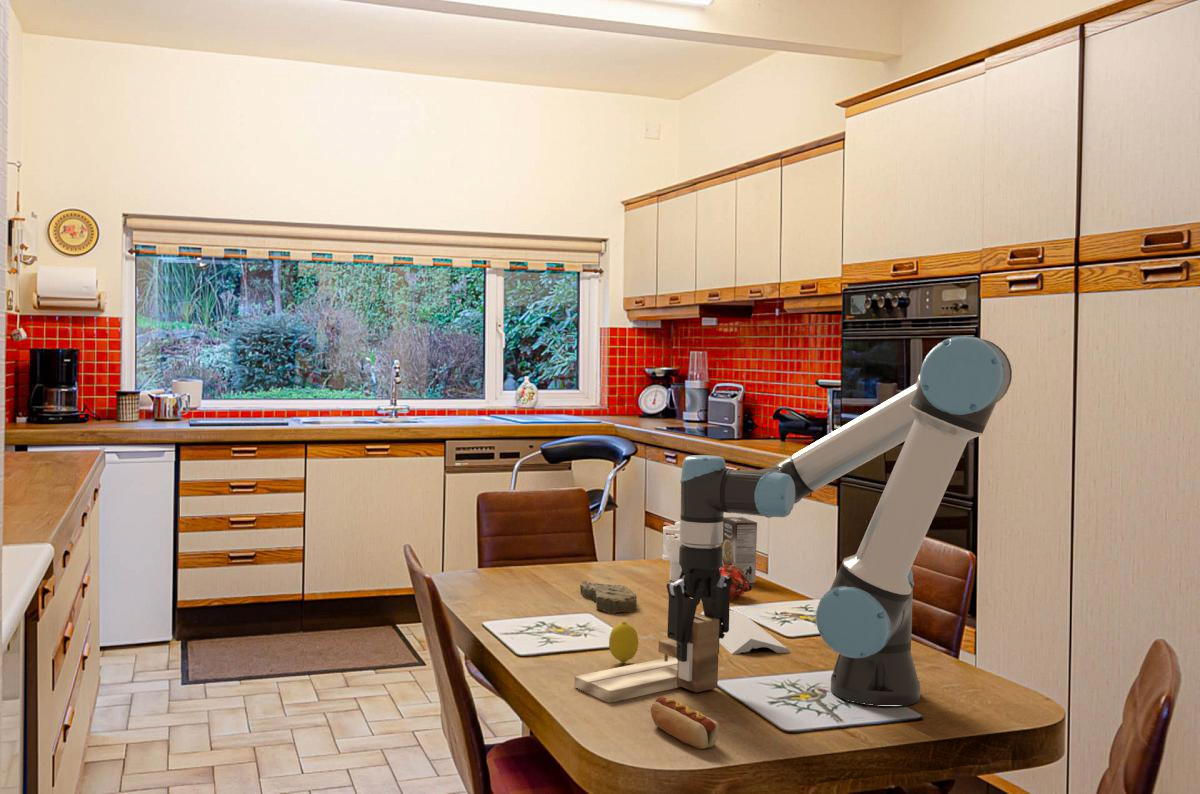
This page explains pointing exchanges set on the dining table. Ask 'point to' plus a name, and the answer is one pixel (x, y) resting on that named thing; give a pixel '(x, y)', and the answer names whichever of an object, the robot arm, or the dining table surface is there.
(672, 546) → the white stepped cylinder
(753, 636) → the crown molding
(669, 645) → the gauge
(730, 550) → the coffee box
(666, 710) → the food
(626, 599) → the stone slab
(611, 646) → the lemon
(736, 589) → the dragon fruit
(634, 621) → the dining table surface
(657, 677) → the board
